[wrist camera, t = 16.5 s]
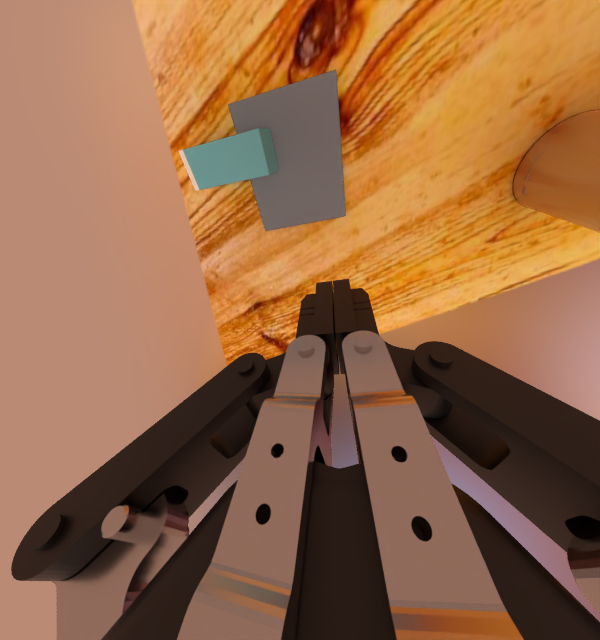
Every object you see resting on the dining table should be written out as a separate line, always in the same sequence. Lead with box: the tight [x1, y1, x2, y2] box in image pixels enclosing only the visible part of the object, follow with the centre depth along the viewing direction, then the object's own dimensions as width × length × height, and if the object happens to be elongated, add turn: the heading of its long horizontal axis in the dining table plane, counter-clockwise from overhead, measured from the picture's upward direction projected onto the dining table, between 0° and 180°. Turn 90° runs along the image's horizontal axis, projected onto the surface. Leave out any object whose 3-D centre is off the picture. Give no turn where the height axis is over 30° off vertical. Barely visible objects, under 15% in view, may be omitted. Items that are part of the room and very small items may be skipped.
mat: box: [228, 70, 346, 231], centre depth 28 cm, size 12×14×1 cm
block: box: [179, 128, 279, 191], centre depth 26 cm, size 4×4×10 cm
